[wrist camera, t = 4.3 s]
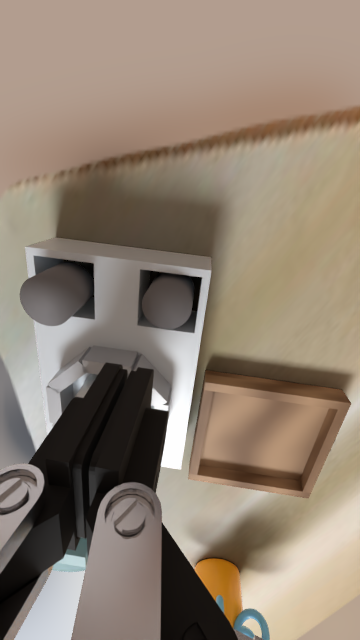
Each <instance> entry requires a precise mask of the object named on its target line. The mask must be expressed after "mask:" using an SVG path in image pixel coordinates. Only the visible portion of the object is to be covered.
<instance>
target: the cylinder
mask: <svg viewBox="0 0 360 640" xmlns="http://www.w3.org/2000/svg"><path fill="white" fill-rule="evenodd" d="M194 570H195V572H196V573H197V575H198V576H199V578H200V579H201V581H202V582H203V584H204V585H205V586H206V588H207V589H208V591H209V592H210V594H211V595H212V597H213V598H214V600H215V601H216V603H217V604H218V606H219V607H220V609H221V610H222V612H223V613H224V614H225V616H226V617H227V619H228V620H229V622H230V624H231V626H232V628H233V629H235V630H237V631H239V632H241V633H243V634H245V635H247V636H249V637H250V638H252V639H253V638H254V636H255V635H254V634H253V632H252V631H251V630H250V629H249V628H247V627H246V626H242V624H243V623H244V622H245V621H246V620H247V619H249V618H253V619H255V620H256V621H257V622H258V623H259V625H260V627H261V631H262V639H263V640H270V637H269V629H268V625H267V623H266V621H265V619H264V617H263V616H262V615H261V614H260V613H259V612H258V611H257V610H254V609H245V610H243V609H242V596H241V583H240V573H239V570H238V568H237V567H236V566H235V565H234V564H233V563H231V562H229V561H226V560H223V559H216V558H212V559H205V560H202V561H200V562H199V563H198V564H197V565H196V566H195V569H194Z"/></svg>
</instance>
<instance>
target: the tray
mask: <svg viewBox="0 0 360 640" xmlns="http://www.w3.org/2000/svg"><path fill="white" fill-rule="evenodd" d="M350 405H351V402H350V401H349V399H348V398H347V396H346V395H345V393H344V392H343V390H341V389H334V388H327V387H320V386H313V385H306V384H299V383H292V382H285V381H278V380H271V379H264V378H257V377H250V376H243V375H236V374H229V373H222V372H215V371H208V370H205V376H204V382H203V388H202V394H201V399H200V405H199V411H198V417H197V423H196V429H195V434H194V440H193V446H192V452H191V458H190V464H189V477H188V479H191V480H197V481H203V482H209V483H216V484H222V485H228V486H234V487H241V488H247V489H253V490H259V491H266V492H272V493H278V494H284V495H291V496H297V497H303V498H309V496H310V494H311V492H312V489H313V487H314V485H315V483H316V481H317V478H318V476H319V474H320V472H321V469H322V467H323V465H324V463H325V461H326V458H327V456H328V454H329V452H330V449H331V447H332V445H333V443H334V441H335V438H336V436H337V434H338V432H339V429H340V427H341V425H342V423H343V421H344V418H345V416H346V414H347V412H348V410H349V407H350Z"/></svg>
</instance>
